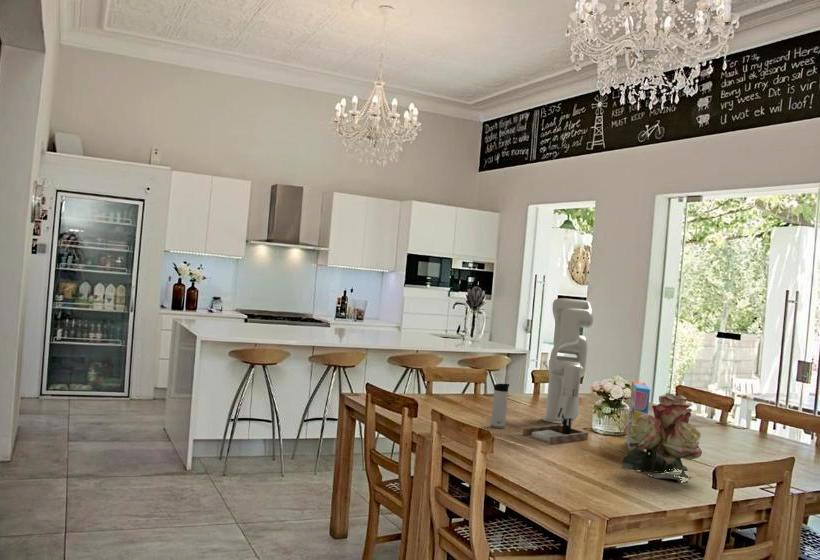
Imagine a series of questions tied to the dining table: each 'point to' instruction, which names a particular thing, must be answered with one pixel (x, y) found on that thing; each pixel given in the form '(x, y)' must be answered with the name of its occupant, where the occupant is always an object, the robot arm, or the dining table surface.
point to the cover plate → (545, 435)
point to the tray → (572, 437)
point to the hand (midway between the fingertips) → (566, 433)
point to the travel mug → (499, 405)
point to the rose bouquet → (663, 439)
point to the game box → (637, 404)
